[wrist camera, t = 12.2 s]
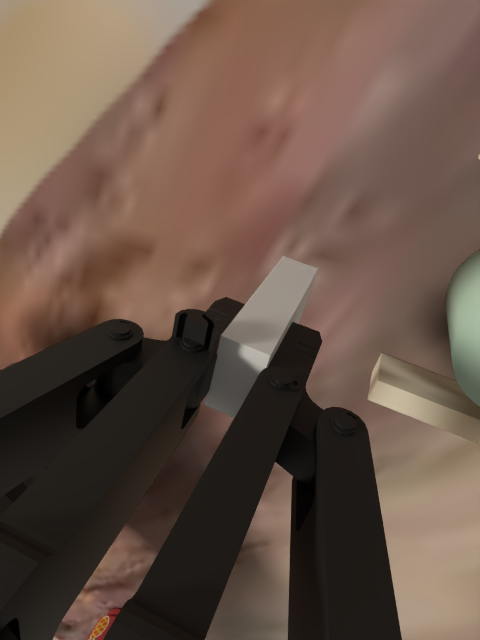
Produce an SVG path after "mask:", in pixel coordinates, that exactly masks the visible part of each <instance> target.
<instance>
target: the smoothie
mask: <svg viewBox="0 0 480 640" xmlns="http://www.w3.org/2000/svg"><path fill="white" fill-rule="evenodd" d="M120 610H121V609H118V608H117V609H112V610H110V611H109V612H108V614H107V615H106V616H103V617H101V618H100V619H99V621H98V623H97V624H96V626H95V627H94V629H93V630H92V632H91V633H90V635H89V636H88V638H87V639H86V640H103V639H104V637H105V635H106V634H107V632H108V630H109V628H110V627H111V625H112V623H113V621H114V620H115V618H116V616H117V615H118V613H119V612H120Z"/></svg>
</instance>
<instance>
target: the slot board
mask: <svg viewBox="0 0 480 640" xmlns="http://www.w3.org/2000/svg"><path fill="white" fill-rule="evenodd" d="M478 158H479V159H480V154H479V156H478ZM368 400H370V401H373V402H375V403H378V404H380V405H383V406H385V407H388V408H390V409H393V410H395V411H398V412H400V413H403V414H405V415H408V416H410V417H413V418H415V419H418V420H420V421H423V422H425V423H428V424H430V425H433V426H435V427H438V428H440V429H443V430H445V431H448V432H450V433H453V434H455V435H458V436H461V437H463V438H466V439H468V440H471V441H473V442H476V443H478V444H480V406H478V405H477V404H476V403H474V402H473V401H472V400H471V399H470V398H469V397H468V396H467V395H466V394H465V392H464V391H463V390H462V389H461V387H460V385H459V383H458V382H457V381H454V380H452V379H449V378H446V377H444V376H441V375H438V374H436V373H433V372H430V371H428V370H425V369H423V368H420V367H417V366H415V365H412V364H409V363H407V362H404V361H401V360H399V359H396V358H393V357H391V356H388V355H386V354H383V353H381V355H380V357H379V359H378V361H377V363H376V365H375V367H374V369H373V371H372V376H371V383H370V389H369V395H368Z"/></svg>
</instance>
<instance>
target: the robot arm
mask: <svg viewBox="0 0 480 640" xmlns="http://www.w3.org/2000/svg"><path fill="white" fill-rule="evenodd" d="M317 271H318V268H315V267H312V266H309V265H306V264H304V263H301V262H298V261H295V260H293V259H290V258H287V257H284V256H283V257H282V258H281V259H280V260H279V262H278V263H277V264H276V266H275V267H274V268H273V269H272V271H271V272H270V273H269V274H268V276H267V277H266V278H265V280H264V281H263V282H262V283H261V285H260V286H259V287H258V289H257V290H256V291H255V292H254V294H253V295H252V296H251V298H250V299H249V300H248V301H247V303H246V304H243V303H240V302H238V301H235V300H233V299H230V298H227V297H225V298H222V299H220V300H217V301H215V302H214V303H213V304H212V305H211V306H210V308H209V309H208V310H207V311H206V312H204V311H201V310H197V309H186V310H181V311H180V312H178V313H176V315H175V321H174V327H173V333H172V337H171V338H170V339H169V340H168V341H162V340H154V339H149V338H143V335H144V333H143V330H142V328H141V327H140V326H139V325H138V324H136V323H134V322H131V321H129V320H123V319H113V320H109V321H106V322H103V323H101V324H99V325H97V326H95V327H93V328H90V329H88V330H86V331H84V332H82V333H80V334H78V335H75V336H73V337H71V338H69V339H67V340H65V341H63V342H60V343H58V344H56V345H54V346H52V347H50V348H48V349H45V350H43V351H41V352H39V353H37V354H35V355H33V356H30V357H28V358H26V359H24V360H22V361H20V362H18V363H14V364H11V365H9V366H7V367H6V368H4V369H3V370H1V371H0V640H52V639H53V637H54V635H55V632H56V630H57V628H58V626H59V624H60V622H61V621H62V619H63V617H64V616H65V614H66V613H67V611H68V610H69V608H70V607H71V605H72V604H73V602H74V601H75V599H76V598H77V596H78V595H79V593H80V592H81V590H82V589H83V587H84V586H85V584H86V583H87V581H88V580H89V578H90V577H91V575H92V574H93V572H94V571H95V569H96V567H97V566H98V564H99V563H100V561H101V560H102V558H103V557H104V555H105V554H106V552H107V551H108V549H109V548H110V546H111V545H112V543H113V542H114V540H115V539H116V537H117V536H118V534H119V533H120V531H121V530H122V528H123V527H124V525H125V524H126V522H127V521H128V519H129V518H130V516H131V515H132V513H133V512H134V510H135V509H136V507H137V506H138V504H139V503H140V501H141V500H142V498H143V497H144V495H145V494H146V492H147V491H148V489H149V488H150V486H151V485H152V483H153V482H154V480H155V478H156V477H157V475H158V474H159V472H160V471H161V469H162V468H163V466H164V465H165V463H166V462H167V460H168V459H169V457H170V456H171V454H172V453H173V451H174V450H175V448H176V447H177V445H178V444H179V442H180V441H181V439H182V438H183V436H184V435H185V433H186V432H187V430H188V429H189V427H190V426H191V424H192V423H193V421H194V420H195V418H196V417H197V415H198V412H199V408H200V404H201V402H202V400H203V399H204V397H205V396H206V400H205V404H204V405H206V406H208V407H211V408H213V409H215V410H217V411H220V412H222V413H224V414H227V415H229V416H231V417H233V418H234V420H233V422H232V423H231V425H230V427H229V429H228V431H227V432H226V434H225V436H224V438H223V439H222V441H221V443H220V445H219V447H218V448H217V450H216V452H215V454H214V456H213V457H212V459H211V461H210V463H209V464H208V466H207V468H206V470H205V472H204V473H203V475H202V477H201V479H200V480H199V482H198V484H197V486H196V488H195V489H194V491H193V493H192V495H191V496H190V498H189V500H188V502H187V504H186V505H185V507H184V509H183V511H182V512H181V514H180V516H179V518H178V520H177V521H176V523H175V525H174V527H173V528H172V530H171V532H170V534H169V536H168V537H167V539H166V541H165V543H164V545H163V546H162V548H161V550H160V552H159V553H158V555H157V557H156V559H155V561H154V562H153V564H152V566H151V568H150V569H149V571H148V573H147V575H146V577H145V578H144V580H143V582H142V584H141V585H140V587H139V589H138V590H137V592H136V594H135V595H134V596H133V598H131V599H129V600H127V602H126V603H125V604H124V606H123V607H122V608H121V610H120V612H119V613H118V615H117V616H116V618H115V620H114V621H113V623H112V625H111V627H110V628H109V630H108V632H107V634H106V635H105V637H104V639H103V640H204V639H205V637H206V634H207V632H208V629H209V627H210V624H211V622H212V619H213V617H214V614H215V612H216V609H217V607H218V604H219V602H220V599H221V596H222V594H223V591H224V589H225V586H226V584H227V581H228V579H229V576H230V574H231V571H232V569H233V566H234V564H235V561H236V559H237V556H238V554H239V551H240V549H241V546H242V544H243V541H244V538H245V536H246V533H247V531H248V528H249V526H250V523H251V521H252V518H253V516H254V513H255V511H256V508H257V506H258V503H259V501H260V498H261V496H262V493H263V491H264V488H265V485H266V483H267V480H268V478H269V475H270V473H271V470H272V468H273V465H274V463H275V462H276V463H278V464H279V465H280V466H281V467H283V468H284V469H285V470H286V471H287V472H289V473H290V474H291V475H292V476H293V479H292V500H291V539H290V577H289V616H288V640H402V638H401V632H400V626H399V619H398V613H397V607H396V601H395V595H394V589H393V583H392V576H391V570H390V564H389V558H388V552H387V546H386V539H385V533H384V527H383V521H382V515H381V509H380V502H379V496H378V490H377V484H376V478H375V472H374V466H373V459H372V453H371V447H370V441H369V435H368V430H367V428H366V425H365V423H364V422H363V421H362V420H361V418H360V417H359V416H357V415H356V414H354V413H353V412H351V411H349V410H347V409H344V408H340V407H330V408H326V409H325V410H323V409H321V408H320V407H319V406H317V405H316V404H315V403H314V402H313V401H312V400H311V399H310V398H309V396H308V394H307V392H306V382H307V379H308V377H309V374H310V372H311V369H312V366H313V364H314V361H315V359H316V356H317V354H318V351H319V349H320V346H321V343H322V339H321V336H320V332H318V331H315V330H313V329H310V328H308V327H305V326H303V325H300V324H299V322H300V320H301V317H302V314H303V311H304V308H305V305H306V303H307V300H308V297H309V294H310V291H311V288H312V285H313V283H314V280H315V277H316V274H317ZM206 394H207V395H206Z"/></svg>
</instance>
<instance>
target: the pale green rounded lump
mask: <svg viewBox="0 0 480 640" xmlns="http://www.w3.org/2000/svg"><path fill="white" fill-rule="evenodd" d="M446 314H447V323H448V331H449V340H450V349H451V358H452V366H453V371H454V374H455V377H456V380H457V382H458V383H459V385H460V387H461V389H462V390H463V391H464V392H465V394H466V395H467V396H468V397H469V398H470V399H471V400H472V401H473V402H474V403H476V404H477V405H478V406H480V250H478V251H476V252H475V253H474V254H472V255H471V256H470V257H468V258H467V259H466V260H465V261H464V262H463V263H462V264H461V265H460V266H459V268H458V269H457V270H456V272H455V273H454V275H453V277H452V278H451V281H450V283H449V285H448V289H447V292H446Z"/></svg>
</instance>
